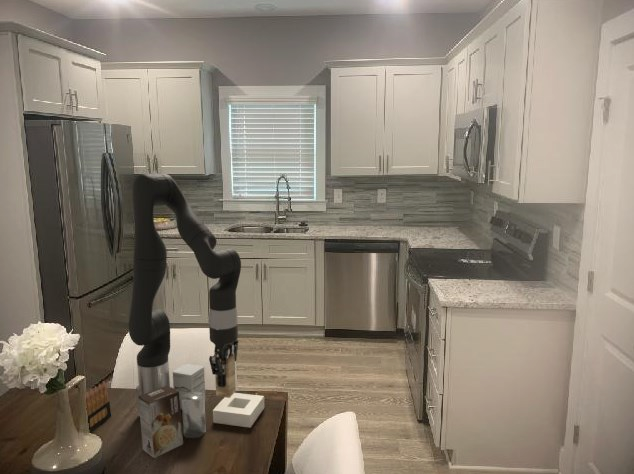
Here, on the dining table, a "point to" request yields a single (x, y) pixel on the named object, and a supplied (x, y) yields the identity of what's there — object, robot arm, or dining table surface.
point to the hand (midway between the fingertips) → (225, 382)
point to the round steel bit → (193, 415)
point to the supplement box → (189, 380)
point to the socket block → (239, 410)
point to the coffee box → (160, 420)
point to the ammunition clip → (97, 406)
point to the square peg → (227, 379)
